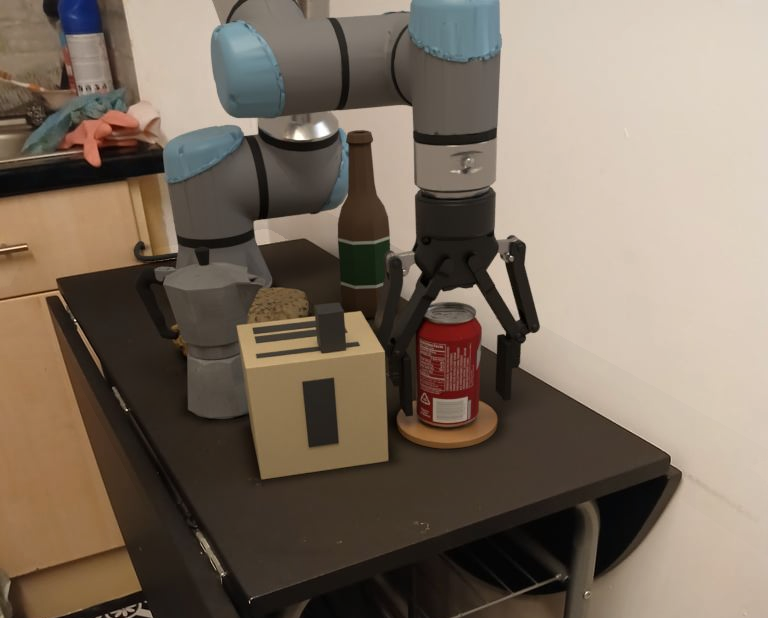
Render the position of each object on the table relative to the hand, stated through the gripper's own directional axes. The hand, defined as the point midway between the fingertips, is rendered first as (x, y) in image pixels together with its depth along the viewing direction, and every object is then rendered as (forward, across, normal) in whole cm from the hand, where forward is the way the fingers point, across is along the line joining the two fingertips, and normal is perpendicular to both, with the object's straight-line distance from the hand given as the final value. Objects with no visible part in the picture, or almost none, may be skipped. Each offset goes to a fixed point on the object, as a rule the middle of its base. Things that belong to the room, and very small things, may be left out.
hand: (455, 402), depth 86 cm
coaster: (+2, -1, 0) cm, 3 cm away
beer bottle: (+3, -2, +37) cm, 37 cm away
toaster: (+2, -16, -1) cm, 16 cm away
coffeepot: (+2, -25, +13) cm, 28 cm away
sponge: (+2, -20, +29) cm, 35 cm away
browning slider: (-10, -13, -4) cm, 17 cm away
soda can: (+2, -1, 0) cm, 2 cm away
